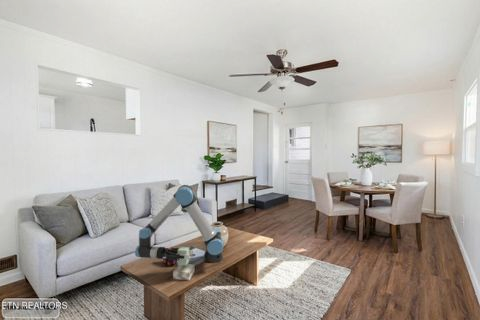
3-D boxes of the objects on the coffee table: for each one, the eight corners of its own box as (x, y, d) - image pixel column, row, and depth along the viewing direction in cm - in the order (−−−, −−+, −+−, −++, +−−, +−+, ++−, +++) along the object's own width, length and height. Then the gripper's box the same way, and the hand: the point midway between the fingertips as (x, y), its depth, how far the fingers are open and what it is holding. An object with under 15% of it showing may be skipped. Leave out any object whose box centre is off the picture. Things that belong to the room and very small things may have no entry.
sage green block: (189, 261, 161) (189, 246, 160) (186, 265, 155) (186, 250, 154) (181, 260, 161) (181, 246, 161) (177, 264, 155) (177, 250, 155)
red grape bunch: (171, 267, 168) (171, 253, 168) (162, 262, 176) (161, 248, 176) (179, 264, 174) (179, 250, 173) (170, 259, 182) (169, 246, 181)
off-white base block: (194, 271, 163) (194, 264, 163) (189, 280, 152) (189, 272, 152) (179, 270, 164) (179, 263, 164) (173, 279, 154) (173, 271, 153)
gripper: (164, 252, 169) (195, 254, 167) (151, 264, 151) (186, 267, 148) (164, 241, 169) (195, 243, 166) (151, 253, 150) (186, 255, 148)
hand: (191, 254), depth 157 cm, fingers closed on sage green block, 6 cm apart
